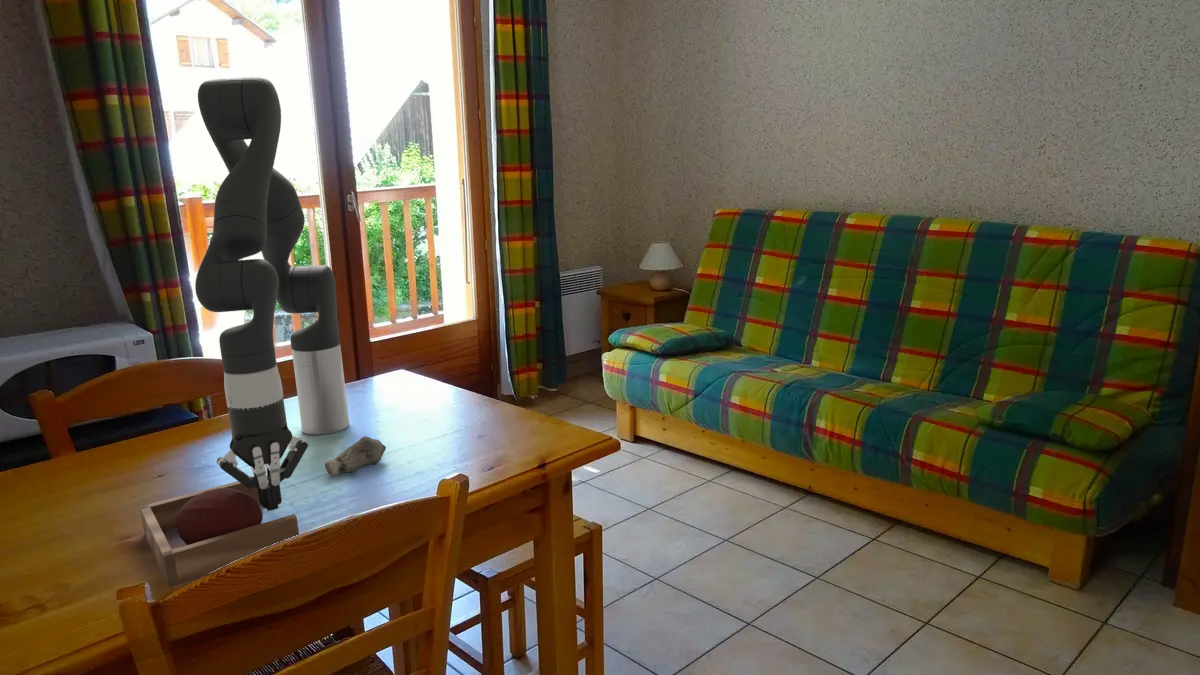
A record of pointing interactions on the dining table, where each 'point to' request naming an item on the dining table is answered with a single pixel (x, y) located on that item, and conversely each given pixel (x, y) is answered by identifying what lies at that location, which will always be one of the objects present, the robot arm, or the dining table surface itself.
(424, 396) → the dining table surface
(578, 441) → the dining table surface
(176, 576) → the corral
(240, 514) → the potato
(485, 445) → the dining table surface
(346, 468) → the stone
